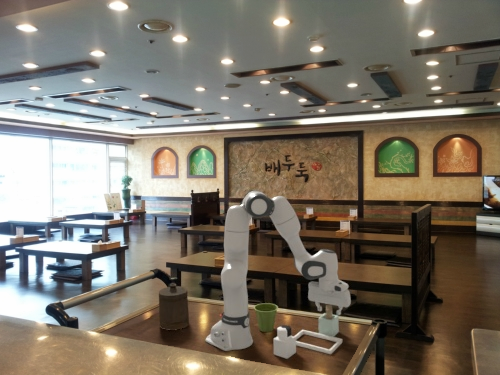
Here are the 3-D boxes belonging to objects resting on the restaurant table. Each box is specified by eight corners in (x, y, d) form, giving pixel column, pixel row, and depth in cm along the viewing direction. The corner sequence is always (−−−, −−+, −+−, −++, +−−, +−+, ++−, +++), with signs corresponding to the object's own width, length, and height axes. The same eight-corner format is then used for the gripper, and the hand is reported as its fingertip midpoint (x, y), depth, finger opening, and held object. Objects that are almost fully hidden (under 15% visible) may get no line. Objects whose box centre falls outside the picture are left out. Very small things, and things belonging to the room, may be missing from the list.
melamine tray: (289, 345, 187) (289, 340, 187) (302, 334, 198) (302, 329, 198) (330, 356, 176) (330, 350, 176) (342, 344, 186) (342, 339, 186)
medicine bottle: (282, 348, 185) (282, 322, 184) (296, 352, 180) (295, 326, 179) (273, 354, 179) (272, 327, 178) (287, 359, 175) (286, 331, 174)
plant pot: (276, 335, 198) (276, 312, 197) (252, 333, 200) (251, 311, 200) (280, 325, 210) (279, 303, 209) (257, 323, 212) (256, 302, 211)
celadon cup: (318, 336, 195) (318, 317, 194) (324, 330, 201) (324, 312, 200) (332, 339, 191) (332, 320, 190) (338, 334, 197) (338, 315, 196)
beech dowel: (325, 333, 195) (324, 305, 194) (327, 331, 198) (327, 303, 197) (331, 335, 194) (330, 306, 192) (333, 332, 196) (333, 304, 195)
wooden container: (192, 319, 221) (190, 278, 219) (185, 331, 206) (182, 288, 204) (164, 319, 222) (162, 279, 221) (156, 330, 208) (153, 288, 206)
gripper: (305, 282, 197) (306, 310, 198) (346, 289, 185) (347, 319, 187) (311, 278, 202) (311, 306, 203) (351, 285, 191) (352, 314, 192)
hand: (329, 312), depth 195 cm, fingers open, 8 cm apart
